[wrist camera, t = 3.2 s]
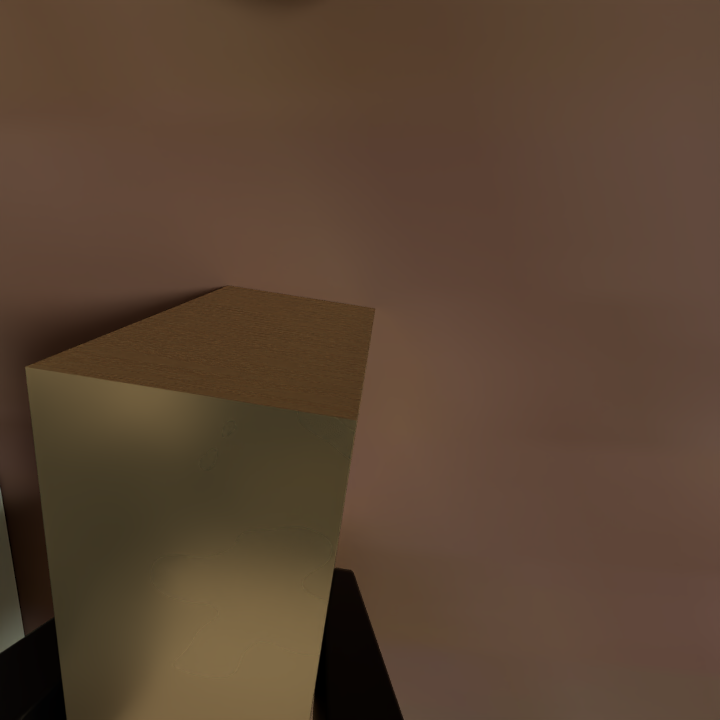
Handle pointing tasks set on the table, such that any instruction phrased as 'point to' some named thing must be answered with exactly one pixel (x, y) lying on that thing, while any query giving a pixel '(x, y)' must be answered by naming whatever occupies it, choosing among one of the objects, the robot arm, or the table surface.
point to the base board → (8, 591)
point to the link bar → (198, 503)
